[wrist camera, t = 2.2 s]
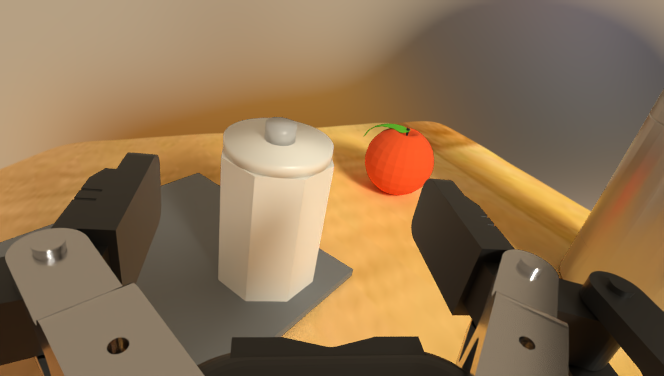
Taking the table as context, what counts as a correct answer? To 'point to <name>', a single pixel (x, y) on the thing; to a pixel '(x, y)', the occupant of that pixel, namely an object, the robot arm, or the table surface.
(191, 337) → the mat
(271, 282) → the white lidded jar
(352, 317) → the table surface
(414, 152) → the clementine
